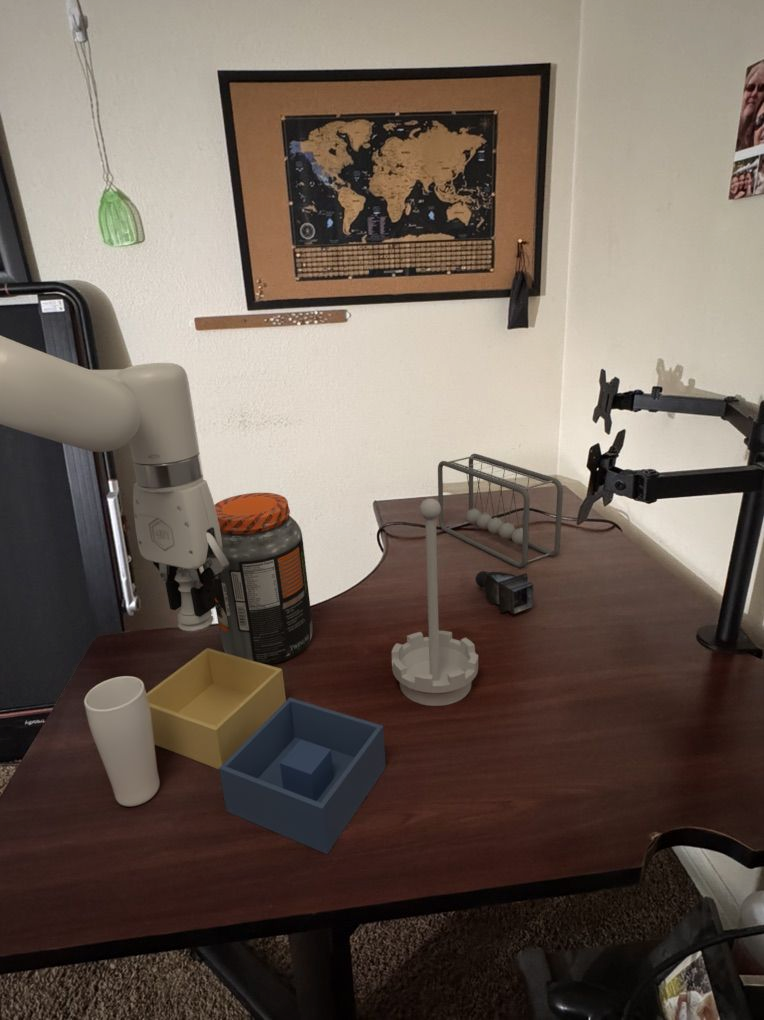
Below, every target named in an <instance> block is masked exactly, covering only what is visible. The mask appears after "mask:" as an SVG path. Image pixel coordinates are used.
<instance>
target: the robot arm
mask: <svg viewBox="0 0 764 1020" xmlns="http://www.w3.org/2000/svg"><path fill="white" fill-rule="evenodd" d="M190 388H191V387H190V382H189V377H188V374H187V371H186V370H185V368H184V367H182V365H179V364H177V363H174V362H152V363H144V364H143V363H142V364H136V365H131V366H127V367H126V368H123V369H122V368H120V369H119V368H117V369H90V368H89V369H88V368H85V367H84V366H81V365H78V364H75V363H72V362H70V361H67V360H65V359H62V358H59V357H58V356H55V355H51V354H49V353H46V352H44V351H41V350H38V349H36V348H33V347H30V346H28V345H25V344H24V343H23V344H22V343H21V342H17V341H15V340H13V339H10V338H7V337H5V336H3V335H0V425H2V426H5V427H8V428H11V429H14V430H17V431H20V432H24V433H26V434H27V433H28V434H30V435H33V436H36V437H41V438H43V439H47V440H51V441H54V442H57V443H60V444H64V445H67V446H71V447H73V448H74V447H75V448H78V449H81V450H84V451H89V452H94V453H106V452H113V451H116V450H118V449H121V448H123V447H124V446H126V445H127V444H129V449H130V454H131V459H132V466H133V469H134V475H135V479H136V482H135V483H134V484H133V491H132V492H133V493H132V504H133V507H132V508H133V517H134V526H135V535H136V541H137V545H138V551H139V553H140V555H141V557H142V558H143V559H145V560H146V561H149V562H152V564H153V565H154V567H155V568H156V569H157V570H158V571H159V576H160V577H159V578H160V579H161V580H162V581H163V582H165V590H166V594H167V599H168V604H169V609H170V610H172V611H177V610H178V609H179V608H181V592H180V591H179V590H178V588H179V586H180V584H179V583H178V582H177V581H176V580H175V576H176V574H177V572H176V570H178V568H182V570H183V569H189V571H190V575H191V578H192V582H193V585H194V587H192V588H191V596H192V602H193V607H194V613H195V615H196V616H198V617H201V616H202V615H204V614H205V613H207V612H208V611H210V610H211V611H212V610H213V609H214V608H215V605H216V603H215V596H214V590H213V584H212V581H213V580H214V579H215V578H216V576H217V574H218V573H220V572H222V571H223V570H225V569H227V568H228V567H229V566H230V564H229V562H228V560H227V558H226V557H225V555H224V553H223V552H222V539H221V532H220V527H219V522H218V517H217V513H216V509H215V502H214V498H213V496H212V493H211V489H210V487H209V484H208V482H207V480H205V479H204V478H205V477H204V471H203V465H202V457H201V453H200V446H199V440H198V433H197V426H196V421H195V414H194V409H193V401H192V400H193V399H192V395H191V389H190ZM201 567H202V569H203V570H202V572H201V569H200V568H201ZM200 572H201V573H200Z"/></svg>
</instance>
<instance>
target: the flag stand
mask: <svg viewBox="0 0 764 1020" xmlns="http://www.w3.org/2000/svg"><path fill="white" fill-rule="evenodd" d="M440 512H441V506H440V504H439V502H438V500H437V499H435V498H432V497H431V498H426V499H424V500H423V501H422V502H421V503H420V505H419V513H420V515H421V516H422V518H424V524H425V555H426V557H425V559H426V561H425V562H426V585H427V586H426V588H427V590H426V592H427V623H428V624H427V625H428V636H425V637H424V634H423V633H422V632H421V631H418V632H414V633H411V634H407V635H406V642H405V643H403V644H401V643H397V642H396V643H395V644H394V646H393V647H392V649H391V671H392V675H393V676H394V678H395V679H396V680H397V681H398V682H399V689H400V691H401V692H402V694H403V695H404V696H405V697H406V698H407V699H408V700H411V701H412V702H415V703H417V704H420V705H424V706H431V707H437V706H438V707H442V706H448V705H452V704H455V703H457V702H460V701H461V700H463V699H464V698H465V697H466V696H467V695H468V694H469V693H470V691H471V689H472V682H473V680H474V679H475V678H476V677H477V675H478V671H479V654H477V652H476V647H475V646H476V645H475V643H473V642H472V640H470V639H468V638H467V637H463V638H462V639H460V640H458V639H455V638H453V632H452V631H447V630H440V625H439V623H440V622H439V583H438V582H439V581H438V580H439V579H438V550H437V549H438V540H437V539H438V538H437V518H439V514H440Z"/></svg>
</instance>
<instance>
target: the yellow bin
mask: <svg viewBox="0 0 764 1020" xmlns="http://www.w3.org/2000/svg"><path fill="white" fill-rule="evenodd" d="M146 693H147V697H148V701H149V706H150V711H151V718H152V727H153V736H154V745H155V746H157V747H160V748H163V749H165V750H167V751H170V752H173V753H175V754H177V755H181V756H183V757H185V758H188V759H191V760H194V761H196V762H199V763H201V764H204V765H207V766H208V767H211V768H213V769H217V770H219V768H220V767H221V766H222V765H223V764H224V763H225V762H226V761H227V760H228V759H229V758H230V757H231V756H232V755H233V754H234V753H235V752H236V751H237V750H238V749H239V748H240V747H241V746H242V745H243V744H244V743H245V742H246V741H247V740H248V739H249V738H250V737H251V736H252V735H253V734H254V733H255V732H256V731H257V730H258V729H259V728H260V727H261V726H262V725H263V724H264V723H265V722H266V721H267V720H268V719H269V718H270V717H271V716H272V715H273V714H274V713H275V712H276V711H277V710H278V709H279V708H280V707H281V706H282V705H283V704H284V703H285V702H286V701H287V698H286V697H287V695H286V689H285V681H284V674H283V669H282V668H281V667H280V668H279V667H277V666H272V665H270V664H267V665H266V664H262V663H259V662H255V661H252V660H248V659H245V658H241V657H237V656H234V655H230V654H227V653H226V652H223V651H220V650H217V649H213V648H209V647H206V649H204V650H203V651H201V652H200V653H199V654H197V655H195V656H194V657H193V658H192V659H191V660H189V661H187V662H186V663H185V664H184V665H182V666H181V667H180V668H179V669H177V670H176V671H175V672H173V673H171V674H170V675H169V676H168V677H166V678H165V679H164V680H162V681H161V682H160V683H158V684H157V685H155V686H154V687H153V688H152V689H150V690H149V691H148V692H146Z"/></svg>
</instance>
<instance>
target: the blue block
mask: <svg viewBox="0 0 764 1020" xmlns="http://www.w3.org/2000/svg"><path fill="white" fill-rule="evenodd" d="M280 769H281V776H282V783H283V789H286V790H288V791H291V792H294V793H296V794H299V795H301V796H304V797H307V798H309V799H312V800H314V801H317V800H318V798H319V797H320V796H321V794H322V793H323V792H324V790H325V789H326V788H327V786H328V785H329V784H330V783H331V781H332V780H333V779H334V775H333V765H332V755H331V749H328V748H325V747H322V746H319V745H316V744H313V743H310V742H307V741H304V740H301V739H300V741H299V742H298V743H297V744H296V745H295V746H294V747H293V748H292V750H291V751H290V752H289V753H288V754H287V755H286V756H285V757H284V759H283V760H282V761H281V762H280Z"/></svg>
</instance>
